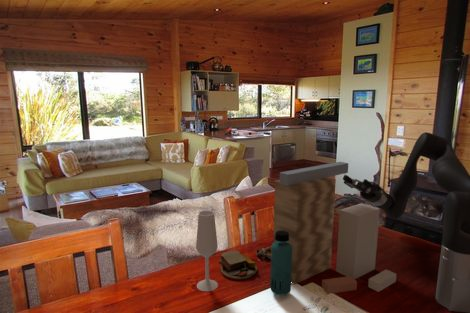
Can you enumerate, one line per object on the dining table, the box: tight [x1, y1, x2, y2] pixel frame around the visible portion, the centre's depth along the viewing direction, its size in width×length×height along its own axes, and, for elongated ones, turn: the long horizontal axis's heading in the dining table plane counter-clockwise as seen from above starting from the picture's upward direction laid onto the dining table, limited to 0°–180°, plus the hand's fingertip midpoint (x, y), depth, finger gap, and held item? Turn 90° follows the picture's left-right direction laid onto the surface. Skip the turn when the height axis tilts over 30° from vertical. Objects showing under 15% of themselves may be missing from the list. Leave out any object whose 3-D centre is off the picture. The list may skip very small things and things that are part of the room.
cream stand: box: [335, 202, 381, 280], centre depth 115 cm, size 12×7×22 cm, turn 126°
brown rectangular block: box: [321, 276, 358, 295], centre depth 105 cm, size 10×4×3 cm, turn 104°
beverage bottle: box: [269, 230, 292, 296], centre depth 101 cm, size 6×7×20 cm
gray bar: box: [279, 161, 349, 186], centre depth 114 cm, size 30×4×4 cm, turn 126°
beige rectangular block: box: [367, 269, 397, 293], centre depth 108 cm, size 10×4×3 cm, turn 126°
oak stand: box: [272, 177, 337, 284], centre depth 114 cm, size 18×10×32 cm, turn 126°
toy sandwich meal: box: [218, 250, 258, 280], centre depth 116 cm, size 12×14×5 cm
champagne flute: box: [195, 210, 219, 292], centre depth 105 cm, size 7×7×24 cm
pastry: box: [255, 245, 271, 262], centre depth 127 cm, size 7×12×4 cm, turn 94°
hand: (353, 179), depth 127 cm, fingers open, 8 cm apart
